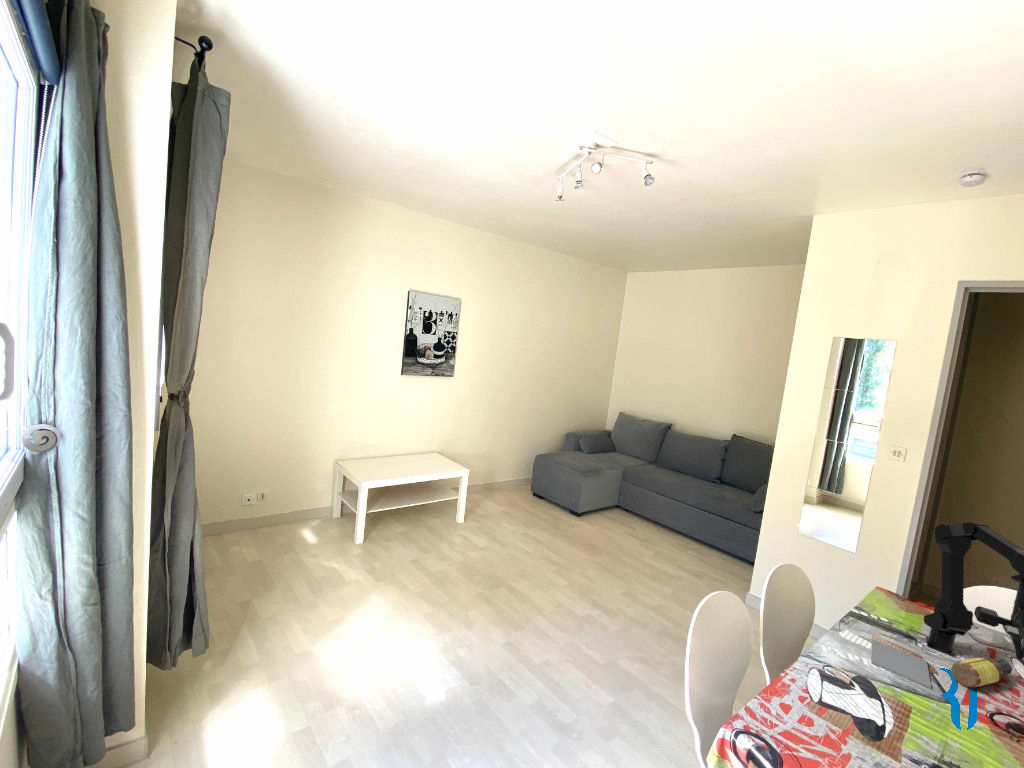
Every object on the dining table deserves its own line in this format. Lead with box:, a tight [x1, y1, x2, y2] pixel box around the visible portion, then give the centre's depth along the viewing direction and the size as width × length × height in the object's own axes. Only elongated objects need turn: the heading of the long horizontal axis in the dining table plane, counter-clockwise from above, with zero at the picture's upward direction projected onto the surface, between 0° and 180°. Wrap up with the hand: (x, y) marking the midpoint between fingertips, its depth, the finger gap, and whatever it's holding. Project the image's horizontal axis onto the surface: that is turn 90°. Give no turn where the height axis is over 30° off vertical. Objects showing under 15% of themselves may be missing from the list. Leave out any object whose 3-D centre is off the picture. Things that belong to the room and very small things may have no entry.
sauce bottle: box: [950, 656, 1013, 688], centre depth 131 cm, size 7×6×20 cm
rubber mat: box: [870, 638, 932, 690], centre depth 134 cm, size 15×13×1 cm
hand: (1018, 658), depth 123 cm, fingers closed
